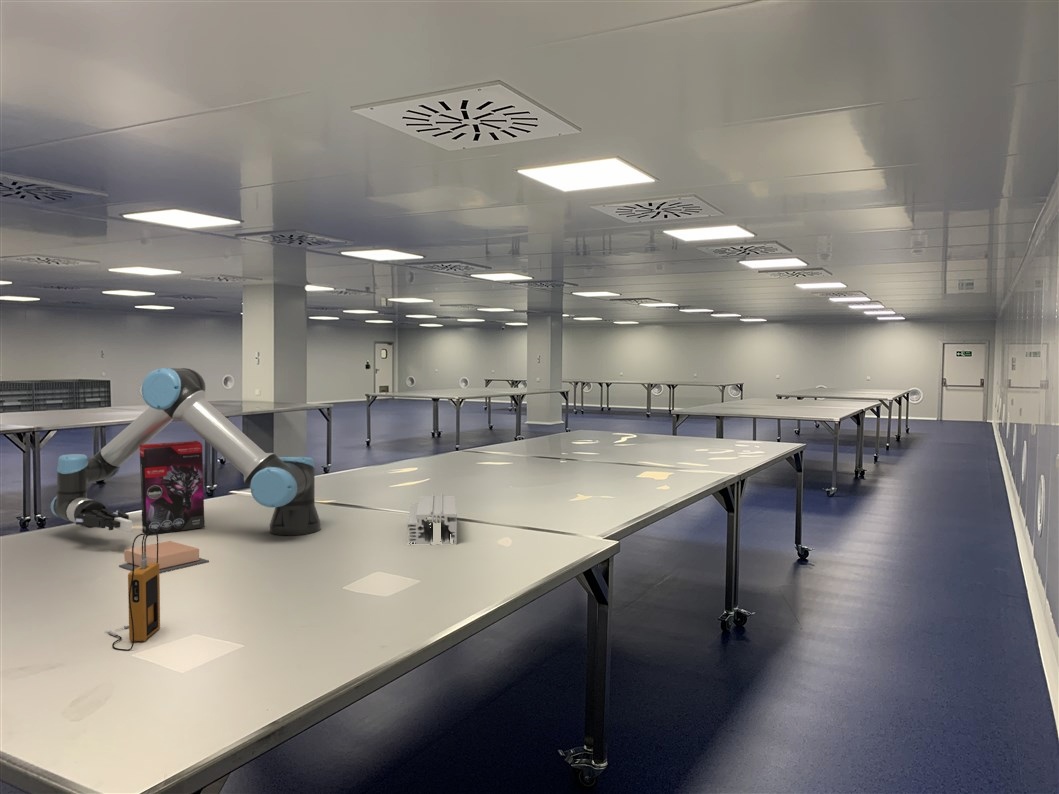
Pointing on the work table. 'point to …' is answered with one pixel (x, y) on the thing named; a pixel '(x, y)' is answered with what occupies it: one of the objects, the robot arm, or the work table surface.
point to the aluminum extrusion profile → (432, 507)
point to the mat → (200, 561)
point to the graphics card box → (171, 486)
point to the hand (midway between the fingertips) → (129, 526)
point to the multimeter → (143, 598)
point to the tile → (164, 554)
